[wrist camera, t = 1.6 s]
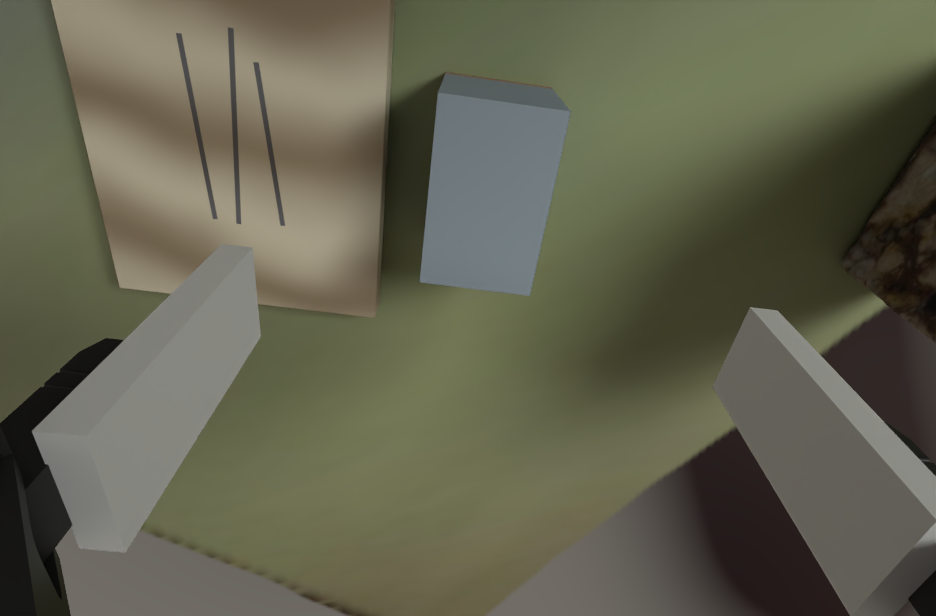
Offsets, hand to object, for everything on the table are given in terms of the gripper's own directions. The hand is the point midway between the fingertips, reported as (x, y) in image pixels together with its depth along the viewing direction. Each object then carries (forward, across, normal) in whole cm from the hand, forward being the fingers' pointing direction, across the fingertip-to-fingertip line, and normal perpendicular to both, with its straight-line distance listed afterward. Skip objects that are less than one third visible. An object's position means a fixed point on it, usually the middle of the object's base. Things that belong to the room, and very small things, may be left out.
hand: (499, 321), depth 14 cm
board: (+15, -12, +1) cm, 19 cm away
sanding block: (+15, 0, 0) cm, 15 cm away
